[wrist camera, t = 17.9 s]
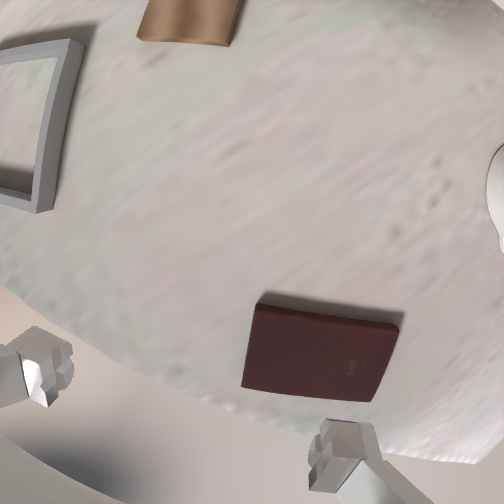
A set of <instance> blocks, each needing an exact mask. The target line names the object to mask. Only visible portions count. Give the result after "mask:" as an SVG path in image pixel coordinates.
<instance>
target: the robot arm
mask: <svg viewBox="0 0 504 504" xmlns="http://www.w3.org/2000/svg"><path fill="white" fill-rule="evenodd" d="M487 203H488V208H489V212H490V215H491V218H492V220H493V223H494V225H495V226H496V228H497V231H498V234H499V241H500V248H501V251H502V252H503V253H504V146H503V147H501V148H500V149H499V151H498V152H497V153H496V155H495V156H494V158H493V160H492V163H491V165H490V168H489V172H488V177H487ZM72 354H73V352H72V345H71V344H70V343H69V342H67V341H65V340H63V339H61V338H59V337H57V336H55V335H53V334H51V333H49V332H47V331H45V330H43V329H41V328H39V327H38V326H32V327H31V328H29V329H28V330H26V331H25V332H24V333H22V334H21V335H19V336H18V337H17V338H16V339H14V340H12V341H11V342H10V343H8V344H7V345H6V346H5V345H3V344H0V408H2V407H6V406H8V405H11V404H14V403H17V402H20V401H23V400H25V399H28V397H29V398H31V399H33V400H35V401H36V402H38V403H40V404H42V405H44V406H46V407H47V408H48V407H49V406H50V405H51V404H52V403H53V402H54V401H55V400H56V399H57V397H58V391H59V390H63V389H66V388H67V387H68V385H69V384H70V383H71V380H72V378H73V374H74V364H73V362H72V361H71V359H70V356H71V355H72ZM308 463H309V465H310V466H311V467H312V469H311V471H310V473H309V490H311V491H319V492H329V493H335V495H336V497H337V498H338V500H339V501H340V502H341V504H434V503H433V502H432V501H431V500H430V499H429V498H427V497H426V496H425V495H424V494H423V493H422V492H420V490H418V489H417V488H416V487H415V486H414V485H413V484H412V483H411V482H409V481H408V480H407V479H406V478H405V477H404V476H403V475H402V474H401V473H400V472H399V471H397V470H396V469H395V468H394V467H393V466H392V465H391V464H390V463H389V462H387V461H383V460H382V456H381V452H380V448H379V444H378V441H377V437H376V433H375V430H374V426H373V425H372V424H371V423H363V422H351V421H342V420H334V419H327V418H326V419H325V420H324V421H323V422H322V424H321V426H320V434H318V435H316V436H315V437H314V439H313V441H312V443H311V446H310V449H309V455H308ZM0 504H125V503H123V502H120V501H118V500H115V499H113V498H111V497H108V496H106V495H104V494H102V493H100V492H97V491H95V490H93V489H91V488H89V487H87V486H85V485H83V484H81V483H79V482H77V481H75V480H73V479H71V478H69V477H67V476H66V475H64V474H62V473H60V472H58V471H57V470H55V469H53V468H51V467H49V466H48V465H46V464H45V463H43V462H41V461H40V460H38V459H36V458H35V457H33V456H32V455H30V454H28V453H27V452H25V451H24V450H22V449H21V448H19V447H18V446H17V445H15V444H14V443H12V442H11V441H9V440H8V439H6V438H5V437H4V436H2V435H1V434H0Z"/></svg>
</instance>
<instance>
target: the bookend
mask: <svg viewBox="0 0 504 504" xmlns="http://www.w3.org/2000/svg"><path fill="white" fill-rule="evenodd" d="M242 1H243V0H149V3H148V5H147V8H146V10H145V13H144V16H143V18H142V21H141V24H140V27H139V30H138V33H137V37H138V38H139V39H141V40H142V41H163V42H183V43H196V44H207V45H217V46H225V47H229V44H230V40H231V37H232V34H233V30H234V27H235V24H236V20H237V17H238V14H239V11H240V7H241V4H242Z"/></svg>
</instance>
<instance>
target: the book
mask: <svg viewBox="0 0 504 504" xmlns="http://www.w3.org/2000/svg"><path fill="white" fill-rule="evenodd" d="M399 332H400V331H399V329H398V327H397V326H396V325H394V324H386V323H377V322H369V321H363V320H354V319H347V318H339V317H334V316H327V315H320V314H314V313H307V312H301V311H295V310H289V309H284V308H278V307H273V306H268V305H263V304H256V305H255V310H254V314H253V321H252V326H251V332H250V337H249V343H248V348H247V354H246V360H245V367H244V372H243V378H242V383H241V387H243V388H248V389H253V390H259V391H265V392H271V393H278V394H286V395H295V396H304V397H312V398H322V399H333V400H344V401H357V402H371V400H372V399H373V397H374V395H375V393H376V391H377V389H378V387H379V385H380V382H381V379H382V377H383V375H384V372H385V370H386V367H387V365H388V362H389V360H390V357H391V355H392V352H393V350H394V347H395V344H396V341H397V338H398V335H399Z"/></svg>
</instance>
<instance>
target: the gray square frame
mask: <svg viewBox="0 0 504 504" xmlns="http://www.w3.org/2000/svg"><path fill="white" fill-rule="evenodd" d="M84 49H85V45H83V44H81V43H79V42H77V41H75V40H73V39H71V38H69V39H61V40H53V41H47V42H40V43H35V44H29V45H24V46H19V47H14V48H10V49H5V50H1V51H0V65H3V64H8V63H14V62H20V61H27V60H34V59H42V58H51V57H58V59H57V63H56V66H55V69H54V73H53V77H52V80H51V84H50V88H49V92H48V96H47V100H46V105H45V109H44V114H43V118H42V123H41V129H40V134H39V140H38V146H37V153H36V160H35V167H34V175H33V185H32V194H28V193H24V192H20V191H16V190H11V189H7V188H3V187H0V203H1V204H4V205H8V206H11V207H14V208H18V209H21V210H25V211H28V212H32V213H35V214H37V213H41V212H45V211H49V210H53V202H54V200H55V193H56V184H57V176H58V169H59V162H60V155H61V149H62V143H63V137H64V132H65V127H66V122H67V117H68V113H69V108H70V104H71V99H72V95H73V91H74V87H75V84H76V80H77V76H78V73H79V69H80V66H81V62H82V59H83V56H84V55H83V52H84Z"/></svg>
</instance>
